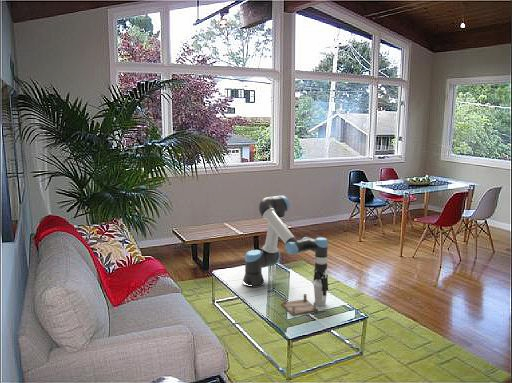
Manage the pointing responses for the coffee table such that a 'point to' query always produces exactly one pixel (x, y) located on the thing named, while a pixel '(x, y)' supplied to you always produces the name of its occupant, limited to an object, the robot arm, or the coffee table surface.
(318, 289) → the coffee cup
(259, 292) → the coffee table surface
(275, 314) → the coffee table surface
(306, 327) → the coffee table surface
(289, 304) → the standoff base
